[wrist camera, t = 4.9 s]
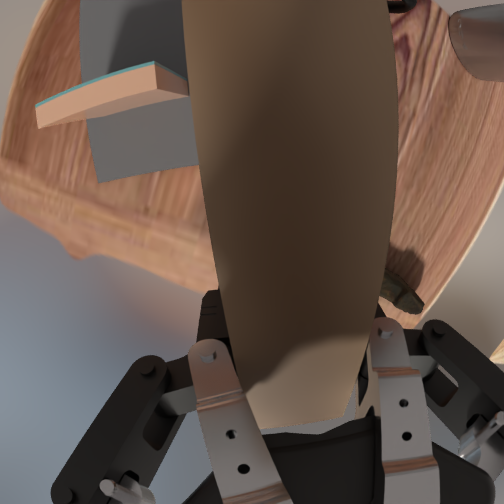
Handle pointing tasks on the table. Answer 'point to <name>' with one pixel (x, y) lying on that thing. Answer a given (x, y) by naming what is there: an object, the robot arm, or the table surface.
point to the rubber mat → (144, 117)
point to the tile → (113, 94)
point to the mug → (401, 6)
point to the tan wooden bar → (295, 188)
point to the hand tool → (400, 293)
